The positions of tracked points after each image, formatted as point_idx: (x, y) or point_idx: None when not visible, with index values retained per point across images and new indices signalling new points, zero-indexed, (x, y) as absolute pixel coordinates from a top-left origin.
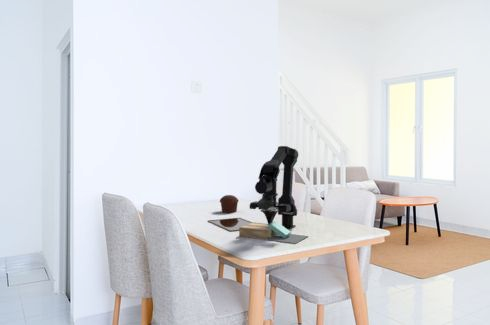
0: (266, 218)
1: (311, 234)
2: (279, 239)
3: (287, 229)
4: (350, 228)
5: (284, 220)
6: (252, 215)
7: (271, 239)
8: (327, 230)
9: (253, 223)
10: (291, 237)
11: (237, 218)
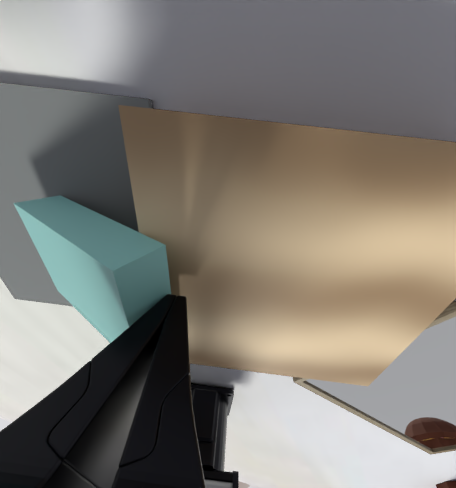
0: (186, 372)
1: (50, 334)
2: (61, 146)
3: (72, 304)
4: (29, 408)
5: (200, 427)
6: (374, 467)
7: (113, 112)
8: (57, 385)
9: (367, 362)
10: None
11: (439, 447)
